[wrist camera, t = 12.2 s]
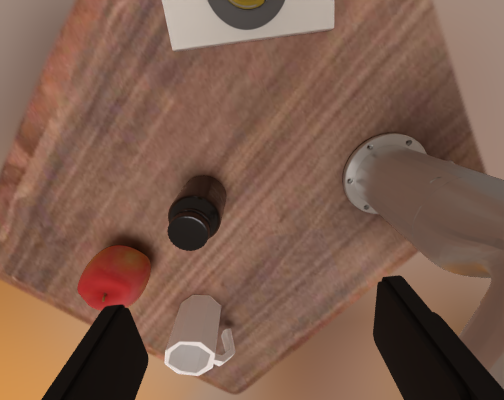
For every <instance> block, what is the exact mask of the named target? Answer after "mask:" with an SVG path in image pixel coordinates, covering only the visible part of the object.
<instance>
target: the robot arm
mask: <svg viewBox="0 0 504 400" xmlns="http://www.w3.org/2000/svg"><path fill="white" fill-rule="evenodd" d="M406 141H407V142H406ZM368 145H369V147H368V148H367V146H368ZM348 179H349V180H348ZM347 180H348V181H347ZM343 188H344V191H345V194H346V196H347V197H348V199H349V200H350V201H351V202H352V204H353V205H354V206H356V207H357V208H358V209H360V210H362V211H364V212H368V213H372V214H379V215H381V216H382V217H383V218H384V219H385V220H386V221H387V222H388V223H389V224H390V225H391V226H393V227H394V228H395V229H396V230H397V231H398V232H399V233H400V234H401V235H402V236H404V237H405V238H406V239H407V240H408V241H409V242H410V243H411V244H412V245H413V246H414V247H416V248H417V249H418V250H419V251H420V252H421V253H422V254H423V255H425V256H426V257H427V258H428V259H429V260H430V261H431V262H433V263H434V264H435V265H437V266H439V267H440V268H442V269H444V270H447V271H449V272H452V273H454V274H459V275H463V276H469V277H481V278H491V284H490V287H489V289H488V290H487V292H486V294H485V295H484V297H483V299H482V300H481V302H480V306H479V307H478V308H477V310H476V311H475V313H474V314H473V316H472V317H471V319H470V320H469V322H468V323H467V324H466V326H465V327H464V329H463V330H462V332H461V333H460V335H459V336H457V335H456V334H455V333H454V332H453V330H452V329H451V328H450V327H449V326H448V324H447V323H446V322H445V321H444V320H443V319H442V318H441V317H440V316H439V315H438V314H436V313H435V312H432V311H431V310H430V309H429V308H428V307H427V305H426V304H425V303H424V302H423V301H422V299H421V298H420V297H419V296H418V295H417V294H416V292H415V291H414V290H413V289H412V288H411V286H410V285H409V284H408V283H407V282H406V280H405V279H404V278H403V277H402V276H390V277H383V278H382V282H378V285H377V297H376V307H375V318H374V329H373V336H374V341H375V343H376V346H377V347H378V350H379V351H380V353H381V355H382V357H383V359H384V361H385V363H386V365H387V367H388V369H389V371H390V373H391V375H392V377H393V379H394V381H395V383H396V385H397V387H398V389H399V391H400V392H401V395H402V397H403V399H404V400H504V180H502V179H499V178H496V177H492V176H490V175H487V174H484V173H481V172H478V171H475V170H472V169H469V168H466V167H463V166H460V165H457V164H454V162H453V161H452V160H450V161H445V160H442V159H439V158H436V157H433V156H430V155H427V153H426V151H425V149H424V147H423V146H422V145H421V144H420V143H419V142H418V141H417V140H415V139H414V138H412V137H409V136H407V135H403V134H397V133H388V134H382V135H378V136H375V137H373V138H371V139H369V140H367V141H366V142H364V143H363V144H362V145H360V146H359V147H358V148H357V149H356V150H355V151H354V152H353V154H352V155H351V157H350V158H349V160H348V162H347V164H346V166H345V169H344V173H343ZM147 365H148V354H147V351H146V349H145V347H144V344H143V342H142V339H141V337H140V334H139V332H138V330H137V327H136V325H135V322H134V320H133V317H132V315H131V313H130V310H129V309H128V308H125V306H124V305H123V304H119V305H110V306H106V307H104V308H103V310H102V311H101V313H100V314H99V315H98V317H97V318H96V320H95V321H94V323H93V324H92V326H91V327H90V329H89V330H88V332H87V333H86V335H85V336H84V338H83V339H82V341H81V342H80V344H79V345H78V346H77V348H76V350H75V351H74V352H73V354H72V355H71V357H70V358H69V360H68V361H67V363H66V364H65V365H64V367H63V368H62V370H61V372H60V373H59V374H58V376H57V377H56V379H55V380H54V382H53V383H52V385H51V386H50V388H49V389H48V390H47V392H46V394H45V395H44V396H43V398H42V400H135V398H136V395H137V392H138V389H139V387H140V384H141V381H142V379H143V376H144V373H145V371H146V368H147Z"/></svg>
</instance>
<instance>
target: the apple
mask: <svg viewBox="0 0 504 400" xmlns="http://www.w3.org/2000/svg"><path fill="white" fill-rule="evenodd" d="M150 271H151V265H150V261H149V259H148V257H147V256H146V255H144V254H143V253H141V252H139V251H138V250H136V249H133V248H131V247H127V246H121V245H116V246H110V247H108V248H106V249H104V250H102V251H101V252H99V253H98V254H97V255H96V256H95V257H94V258H93V259H92V260H91V261H90V262H89V263H88V265H87V266H86V268H85V270H84V271H83V273H82V275H81V278H80V280H79V283H78V293H79V294H80V295H81V297H82V298H83V299H84V300H85V301H86V303H87V304H88V305H89V306H91V307H92V308H94V309H97V310H100V311H102V310H103V308H104V307H106V306H110V305H119V304H123V305H124V306H125V308H127V307H129V306H131V305H132V304H133V303H135V302H136V301H137V300H138V298H139V297H140V296H141V294H142V293H143V291H144V289H145V287H146V285H147V283H148V280H149V277H150Z"/></svg>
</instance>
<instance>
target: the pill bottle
mask: <svg viewBox="0 0 504 400" xmlns="http://www.w3.org/2000/svg"><path fill="white" fill-rule="evenodd" d="M227 1H228V2H229V3H230V4H231V5H233V6H234V7H236V8H238V9H240V10H245V11H250V10H255V9H257V8H259V7H261V6H262V5H263V4H265V3H266V1H267V0H227Z"/></svg>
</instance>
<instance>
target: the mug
mask: <svg viewBox="0 0 504 400" xmlns="http://www.w3.org/2000/svg"><path fill="white" fill-rule="evenodd" d="M220 313H221V305H220V304H219V303H217V302H216V301H215V300H214V299H213V298H212V297H211V296H210V295H192V296H190V297H189V298H187V299H186V300H185V301H183V302H182V303H181V305H180V308H179V311H178V314H177V317H176V320H175V323H174V326H173V329H172V332H171V335H170V338H169V342H168V345H167V348H166V351H165V365H167V366H168V367H169V368H171V369H172V370H173V371H175V372H176V373H177V374H185V375H196V376H199V375H201V374H203V373H204V372H206V371H208V370H210V369H212V368H213V364H215V365H217V366H219V367H220V366H221V365H222V364H224V363H225V362H226V361H228V360H229V359H230V358H231V357H232V356H233V354H234V353H235V347H234V342H233V337H232V332H231V329H225V330H224V331H223V333H222V335H221V337H222V341H223V345H224V349H225V354H223V355H218V354H215V352H216V344H217V336H218V328H219V321H220Z"/></svg>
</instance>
